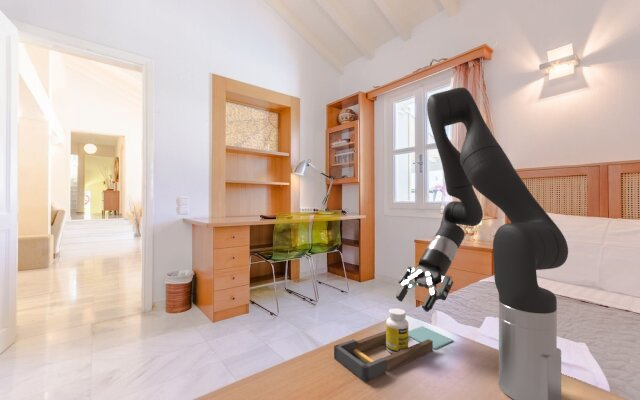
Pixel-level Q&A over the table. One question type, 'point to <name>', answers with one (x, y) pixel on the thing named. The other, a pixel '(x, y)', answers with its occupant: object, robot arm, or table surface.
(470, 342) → the table surface
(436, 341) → the pad
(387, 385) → the table surface
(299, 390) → the table surface
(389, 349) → the supplement bottle
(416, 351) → the chute
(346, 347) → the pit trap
